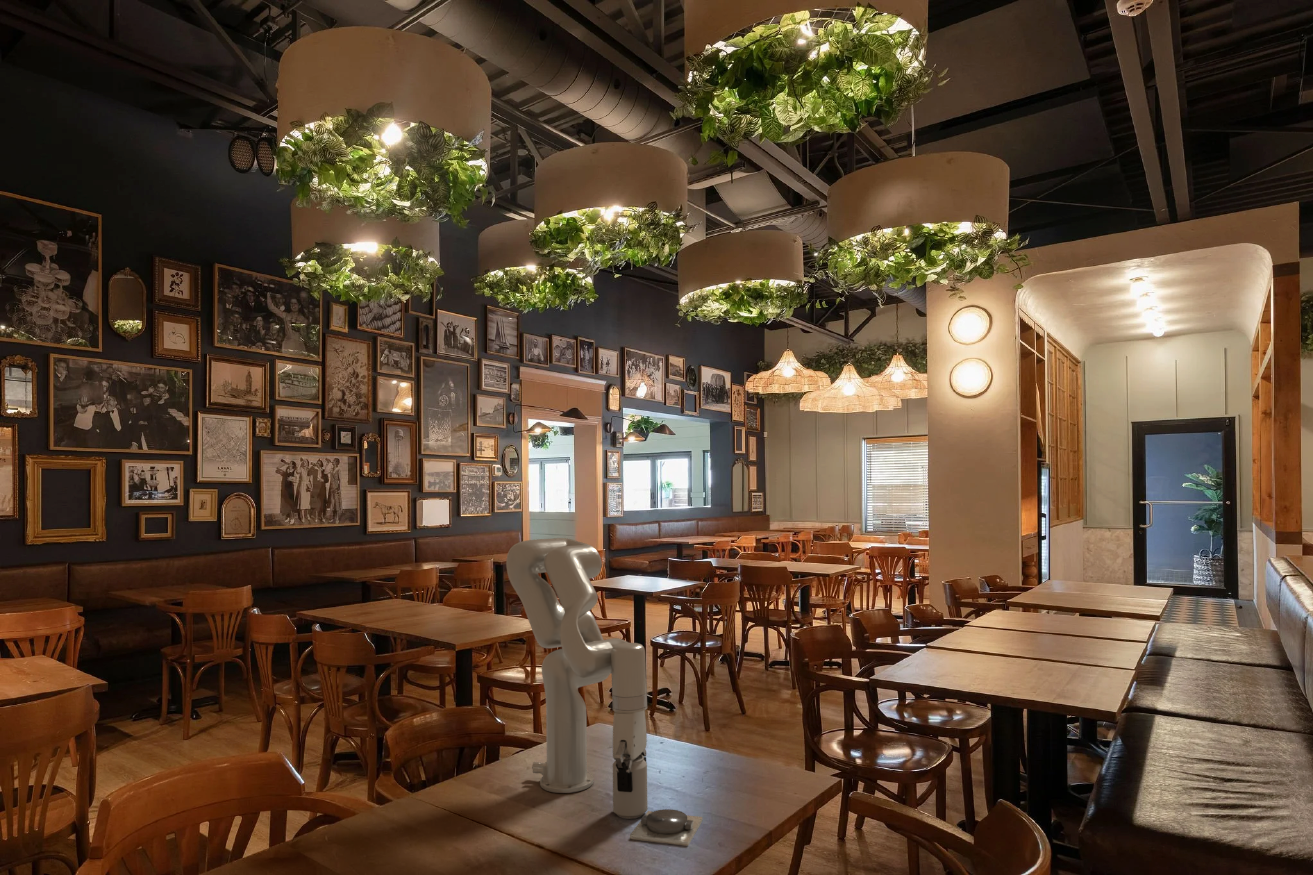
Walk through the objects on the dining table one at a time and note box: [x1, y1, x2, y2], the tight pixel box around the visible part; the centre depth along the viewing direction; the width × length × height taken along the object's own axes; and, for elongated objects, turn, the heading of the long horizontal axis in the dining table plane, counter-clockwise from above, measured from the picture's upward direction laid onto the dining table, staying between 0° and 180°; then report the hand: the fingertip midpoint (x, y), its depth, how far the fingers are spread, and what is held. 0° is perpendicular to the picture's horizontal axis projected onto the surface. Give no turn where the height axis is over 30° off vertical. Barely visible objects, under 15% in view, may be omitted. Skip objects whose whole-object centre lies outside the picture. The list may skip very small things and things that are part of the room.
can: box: [612, 754, 648, 819], centre depth 171 cm, size 8×8×12 cm
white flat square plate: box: [629, 808, 703, 847], centre depth 162 cm, size 12×12×2 cm
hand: (632, 783), depth 170 cm, fingers open, 9 cm apart
